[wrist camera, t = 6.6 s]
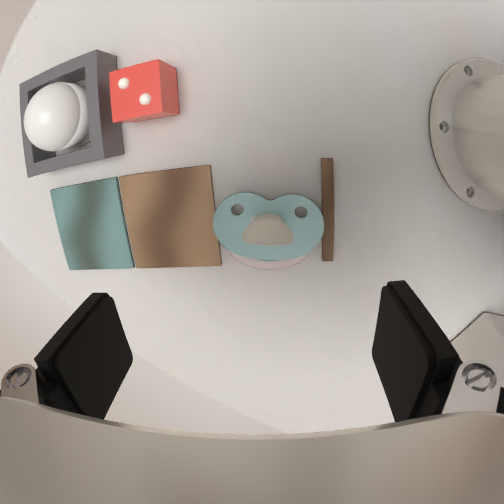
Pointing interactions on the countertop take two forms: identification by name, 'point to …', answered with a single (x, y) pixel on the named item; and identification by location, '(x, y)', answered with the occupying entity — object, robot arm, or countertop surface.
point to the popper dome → (58, 117)
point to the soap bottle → (483, 342)
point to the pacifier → (268, 229)
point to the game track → (154, 220)
